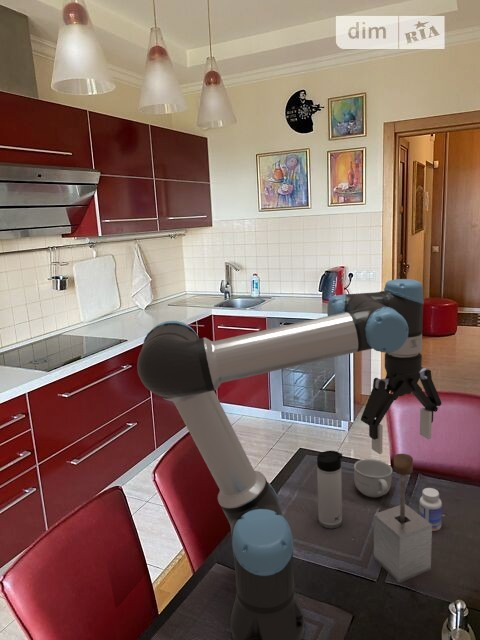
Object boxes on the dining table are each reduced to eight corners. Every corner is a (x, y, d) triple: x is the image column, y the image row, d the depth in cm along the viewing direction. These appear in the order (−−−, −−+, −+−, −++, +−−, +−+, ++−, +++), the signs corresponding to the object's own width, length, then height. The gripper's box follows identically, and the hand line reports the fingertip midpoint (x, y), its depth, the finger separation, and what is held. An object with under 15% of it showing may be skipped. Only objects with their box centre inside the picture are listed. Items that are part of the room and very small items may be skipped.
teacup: (351, 481, 151) (350, 458, 149) (387, 480, 150) (387, 456, 148) (360, 509, 137) (360, 483, 135) (399, 508, 137) (400, 482, 135)
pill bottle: (443, 522, 129) (445, 489, 127) (437, 534, 125) (439, 500, 123) (422, 516, 133) (423, 483, 130) (416, 527, 128) (417, 493, 126)
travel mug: (343, 529, 129) (342, 460, 125) (318, 528, 130) (316, 459, 126) (343, 515, 135) (342, 448, 130) (319, 513, 136) (317, 447, 132)
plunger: (400, 541, 110) (401, 468, 105) (381, 525, 116) (381, 455, 111) (423, 533, 112) (425, 461, 108) (403, 517, 118) (405, 448, 114)
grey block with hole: (399, 583, 110) (399, 536, 107) (367, 551, 120) (367, 508, 118) (430, 570, 113) (432, 524, 111) (397, 540, 124) (398, 498, 121)
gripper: (366, 367, 97) (366, 465, 101) (460, 346, 106) (457, 437, 111) (343, 358, 103) (344, 450, 108) (434, 339, 113) (432, 424, 118)
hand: (401, 443), depth 109 cm, fingers open, 13 cm apart
